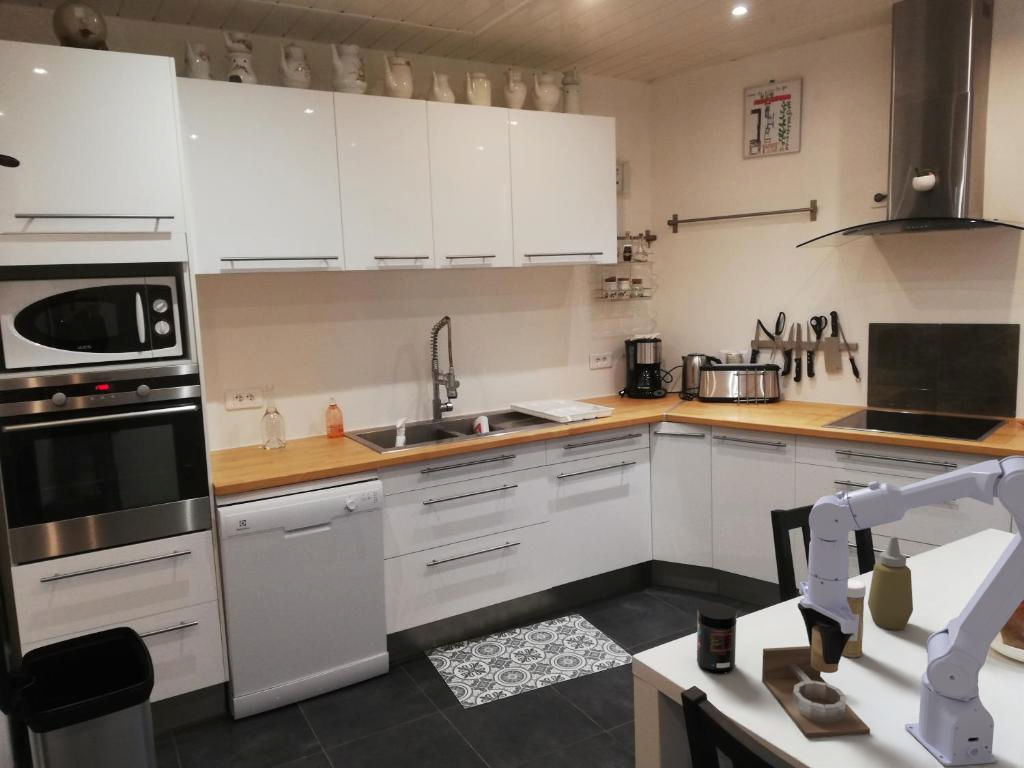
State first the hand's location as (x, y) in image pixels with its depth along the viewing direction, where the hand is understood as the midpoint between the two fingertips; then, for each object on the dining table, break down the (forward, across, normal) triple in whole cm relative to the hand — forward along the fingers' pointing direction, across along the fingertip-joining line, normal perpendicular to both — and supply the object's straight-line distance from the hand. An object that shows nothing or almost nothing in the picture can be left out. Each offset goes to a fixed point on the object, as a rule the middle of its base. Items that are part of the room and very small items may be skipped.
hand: (824, 655), depth 116 cm
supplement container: (+10, -15, -12) cm, 22 cm away
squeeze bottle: (+10, -28, +28) cm, 41 cm away
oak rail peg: (+2, 0, 0) cm, 2 cm away
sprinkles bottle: (+10, -18, +14) cm, 25 cm away
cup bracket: (+9, -1, -1) cm, 10 cm away
